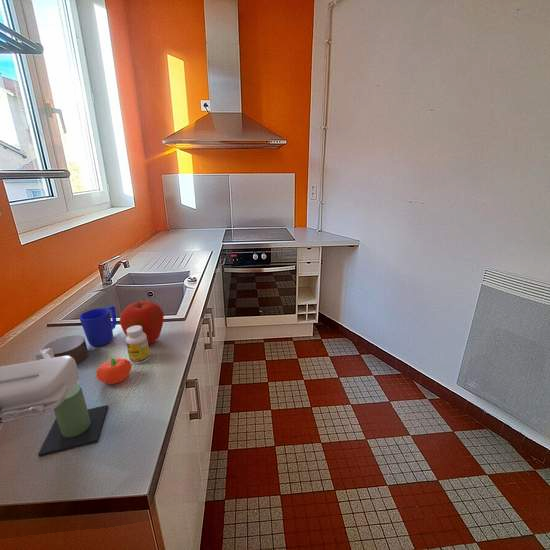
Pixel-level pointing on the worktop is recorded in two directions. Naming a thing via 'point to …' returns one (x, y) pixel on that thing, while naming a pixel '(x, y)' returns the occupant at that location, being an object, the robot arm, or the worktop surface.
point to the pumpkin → (114, 371)
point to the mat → (89, 436)
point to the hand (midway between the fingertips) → (9, 359)
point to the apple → (143, 318)
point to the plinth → (70, 347)
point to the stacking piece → (73, 413)
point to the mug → (99, 325)
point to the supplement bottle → (137, 345)
